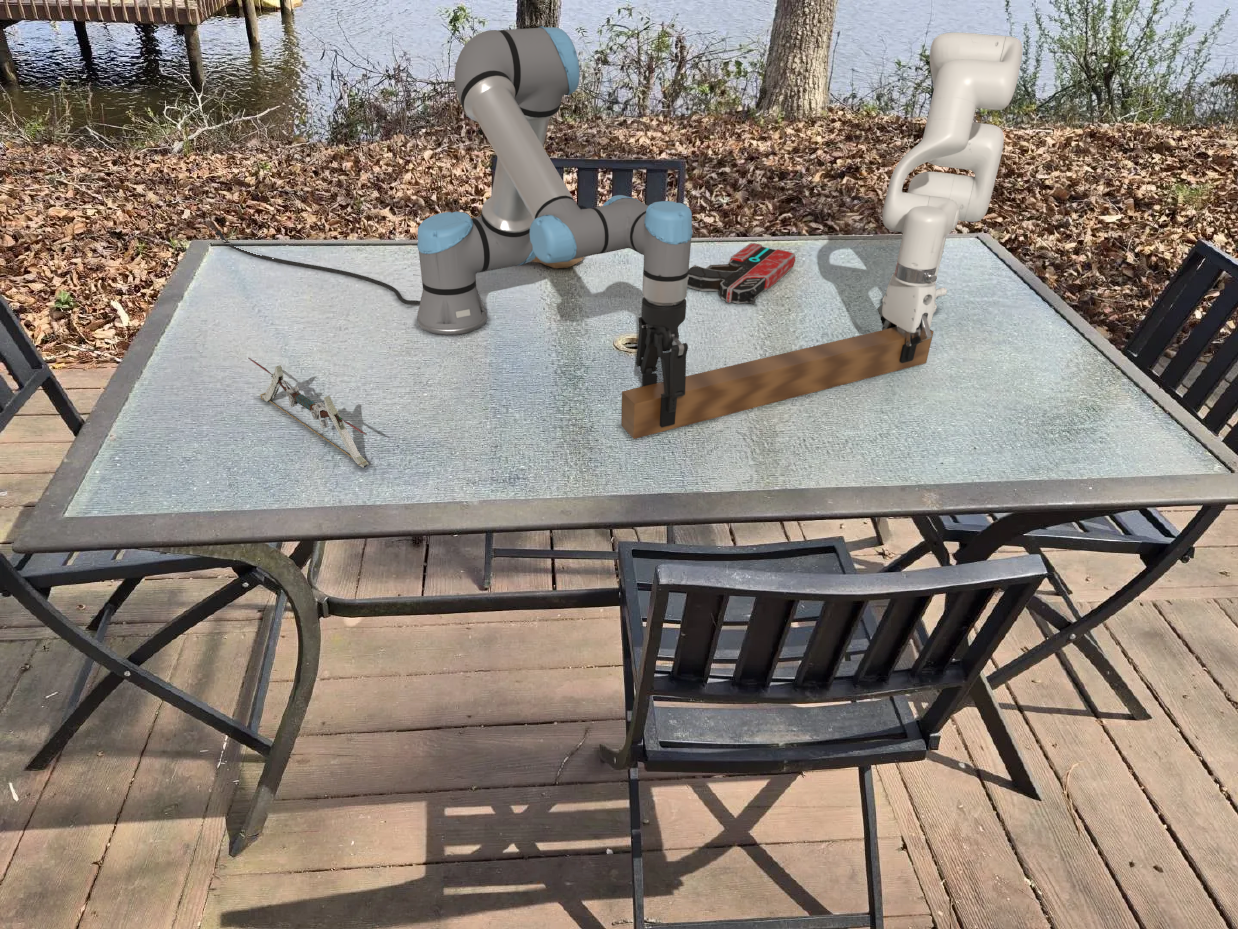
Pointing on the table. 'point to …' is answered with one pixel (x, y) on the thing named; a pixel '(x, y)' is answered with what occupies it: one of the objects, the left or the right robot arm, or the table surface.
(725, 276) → the gun
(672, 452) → the table surface
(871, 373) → the post
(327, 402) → the bow
